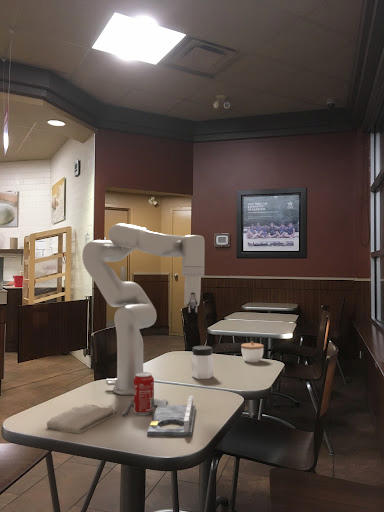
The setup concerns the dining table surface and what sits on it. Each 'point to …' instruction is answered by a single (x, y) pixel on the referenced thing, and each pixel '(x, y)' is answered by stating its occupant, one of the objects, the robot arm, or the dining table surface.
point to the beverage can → (143, 393)
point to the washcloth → (80, 418)
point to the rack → (173, 419)
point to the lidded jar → (252, 351)
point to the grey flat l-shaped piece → (131, 404)
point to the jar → (202, 362)
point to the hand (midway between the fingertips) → (192, 322)
